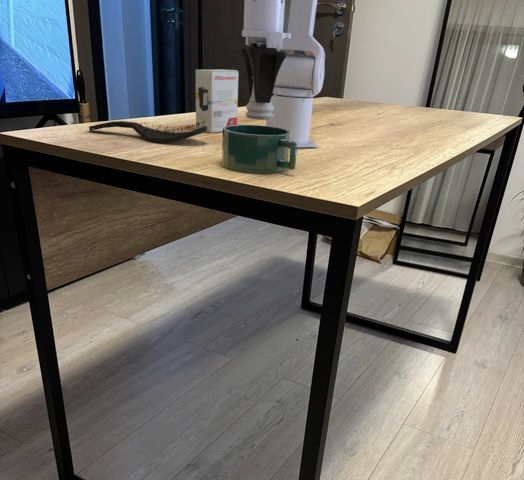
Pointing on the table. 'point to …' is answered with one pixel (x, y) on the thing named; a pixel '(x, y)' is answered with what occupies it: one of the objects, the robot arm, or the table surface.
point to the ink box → (216, 99)
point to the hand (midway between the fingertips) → (259, 101)
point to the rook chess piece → (259, 109)
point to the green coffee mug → (257, 149)
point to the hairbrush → (154, 131)
